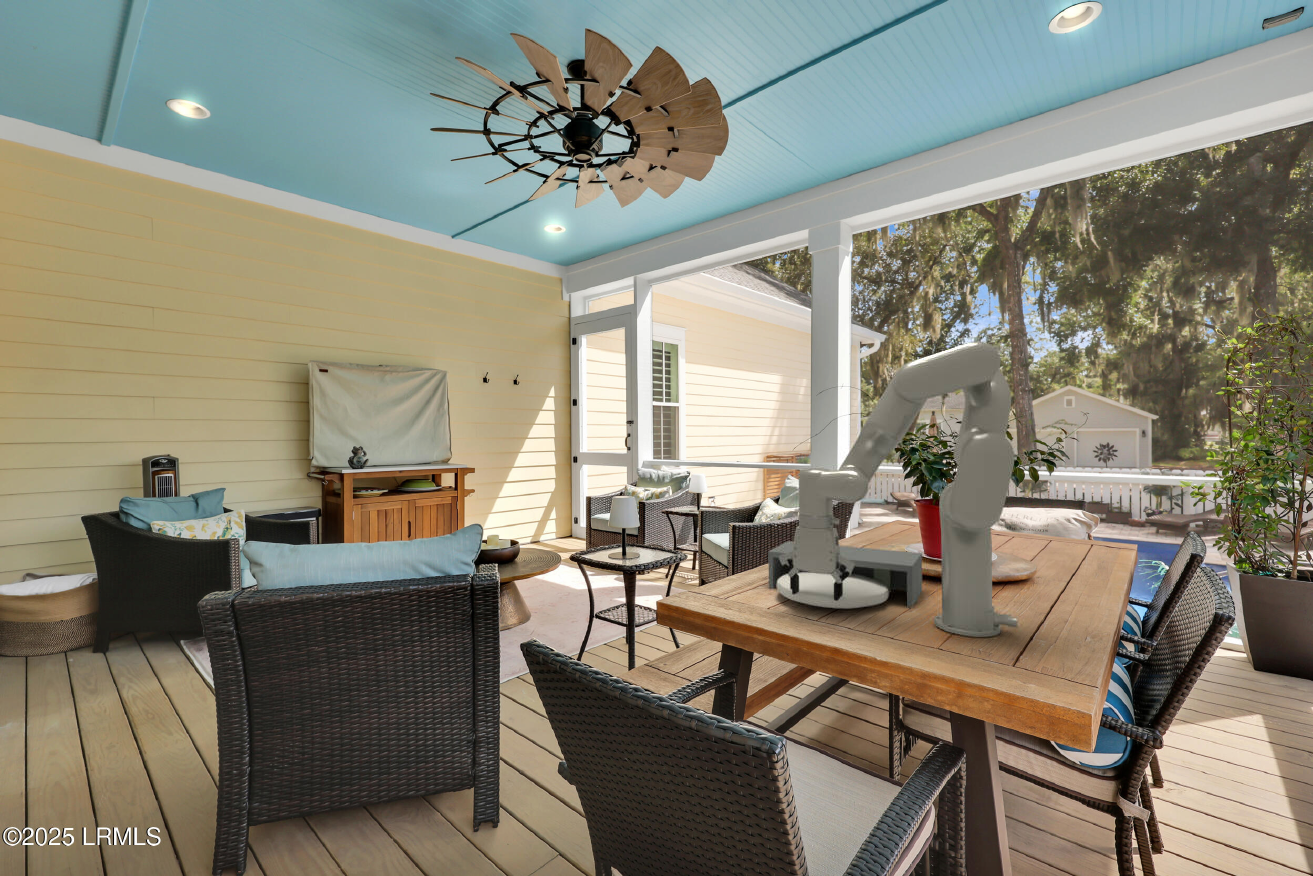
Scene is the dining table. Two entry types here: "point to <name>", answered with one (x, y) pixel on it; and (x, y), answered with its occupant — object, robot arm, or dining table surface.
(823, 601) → the plate
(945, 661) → the dining table surface
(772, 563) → the shelf
